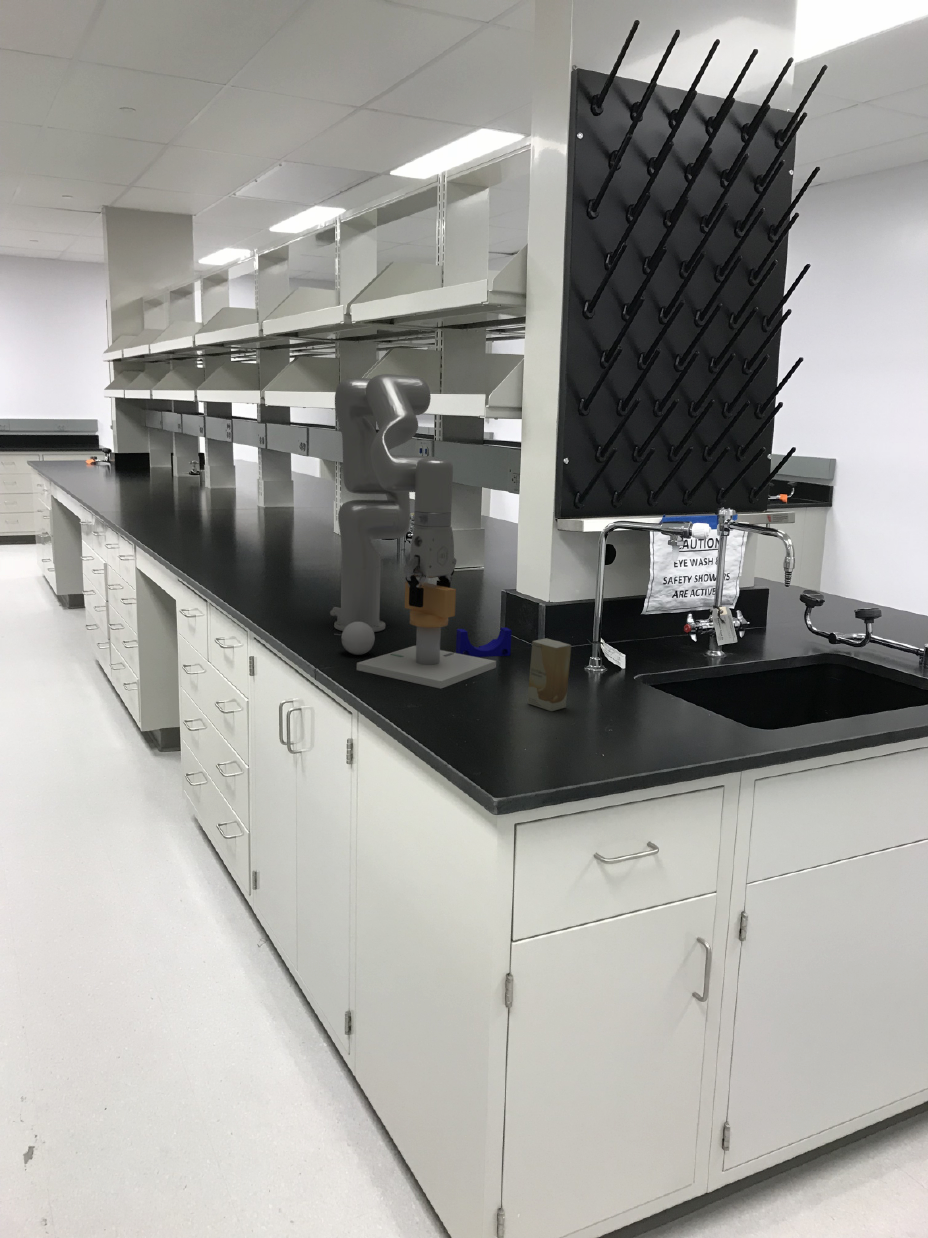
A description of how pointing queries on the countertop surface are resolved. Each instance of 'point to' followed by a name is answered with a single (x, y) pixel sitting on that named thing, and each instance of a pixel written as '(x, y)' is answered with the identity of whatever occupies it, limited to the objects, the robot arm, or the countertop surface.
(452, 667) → the coupling base
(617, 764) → the countertop surface
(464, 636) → the cable clip
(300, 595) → the countertop surface
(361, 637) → the white ball
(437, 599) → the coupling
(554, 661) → the skincare box
